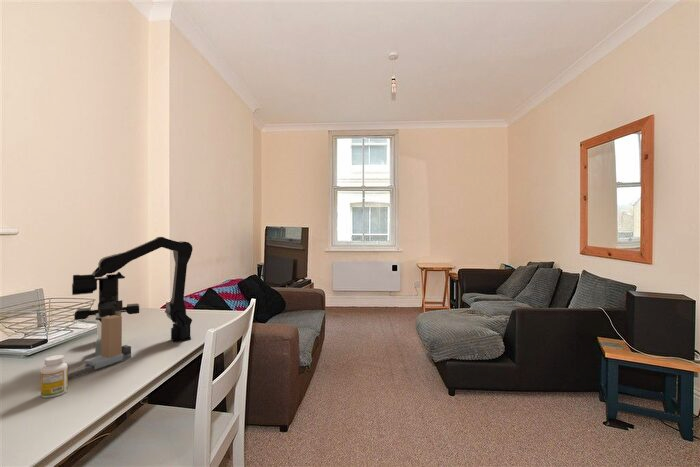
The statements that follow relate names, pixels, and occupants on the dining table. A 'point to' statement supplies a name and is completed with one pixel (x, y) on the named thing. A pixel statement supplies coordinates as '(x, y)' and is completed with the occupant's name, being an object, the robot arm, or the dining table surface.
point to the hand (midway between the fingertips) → (108, 335)
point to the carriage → (109, 342)
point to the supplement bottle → (54, 377)
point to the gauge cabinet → (98, 347)
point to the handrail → (89, 368)
